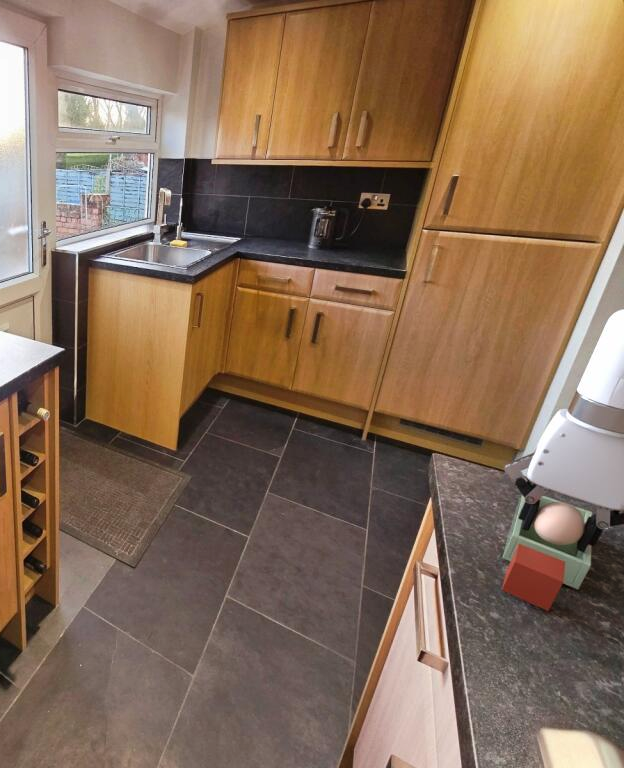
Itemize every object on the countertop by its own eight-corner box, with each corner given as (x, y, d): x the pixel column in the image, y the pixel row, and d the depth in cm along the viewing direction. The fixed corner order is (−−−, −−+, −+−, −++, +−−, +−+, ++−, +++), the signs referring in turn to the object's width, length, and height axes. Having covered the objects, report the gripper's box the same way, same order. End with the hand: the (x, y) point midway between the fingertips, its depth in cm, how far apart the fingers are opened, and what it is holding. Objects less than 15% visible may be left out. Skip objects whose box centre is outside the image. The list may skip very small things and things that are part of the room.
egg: (530, 520, 70) (548, 487, 67) (576, 541, 66) (597, 507, 64) (521, 537, 67) (539, 504, 64) (569, 560, 63) (591, 525, 61)
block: (551, 590, 62) (565, 561, 60) (548, 611, 59) (563, 582, 57) (506, 571, 65) (518, 543, 63) (501, 590, 62) (514, 561, 60)
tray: (581, 533, 73) (592, 512, 71) (578, 589, 62) (591, 565, 61) (515, 509, 78) (524, 489, 76) (502, 558, 67) (512, 535, 66)
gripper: (711, 428, 56) (639, 553, 63) (525, 384, 67) (480, 496, 74) (723, 452, 51) (642, 585, 58) (519, 400, 62) (471, 519, 69)
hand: (552, 534), depth 66 cm, fingers closed on egg, 5 cm apart
